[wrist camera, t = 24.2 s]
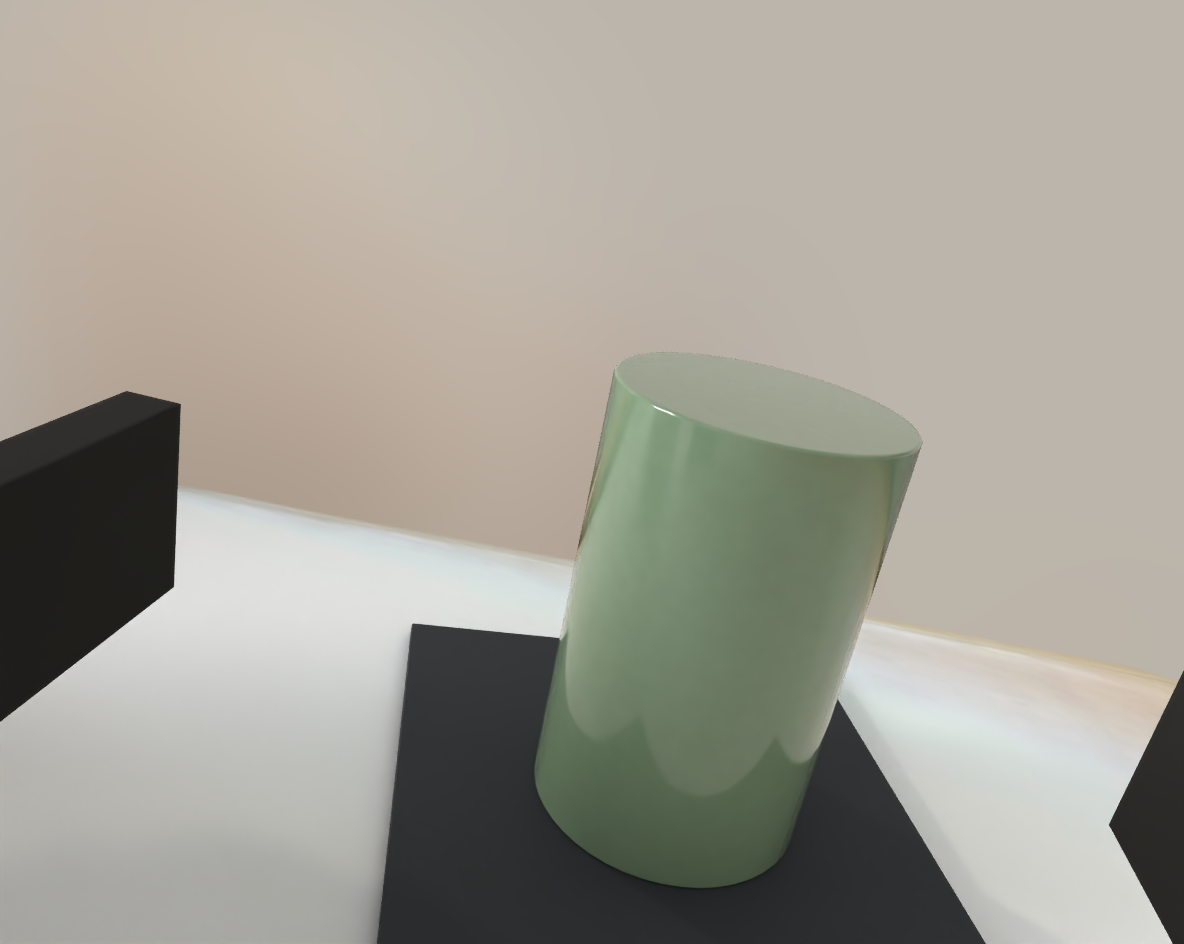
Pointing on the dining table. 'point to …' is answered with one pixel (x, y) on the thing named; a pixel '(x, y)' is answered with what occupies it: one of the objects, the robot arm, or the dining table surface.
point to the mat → (589, 886)
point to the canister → (714, 611)
